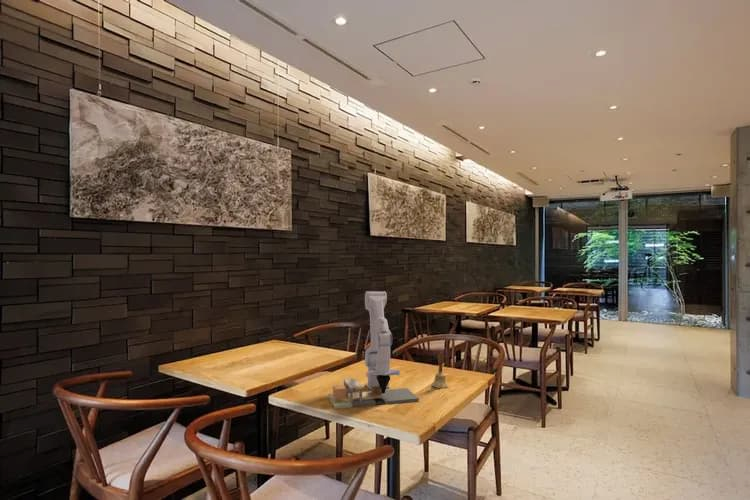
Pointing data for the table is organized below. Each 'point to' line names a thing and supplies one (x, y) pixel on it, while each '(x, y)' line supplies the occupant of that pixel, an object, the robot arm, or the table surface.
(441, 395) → the table surface
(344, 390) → the block
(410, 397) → the board
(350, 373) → the table surface
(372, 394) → the sled
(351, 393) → the tunnel
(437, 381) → the hand bell
